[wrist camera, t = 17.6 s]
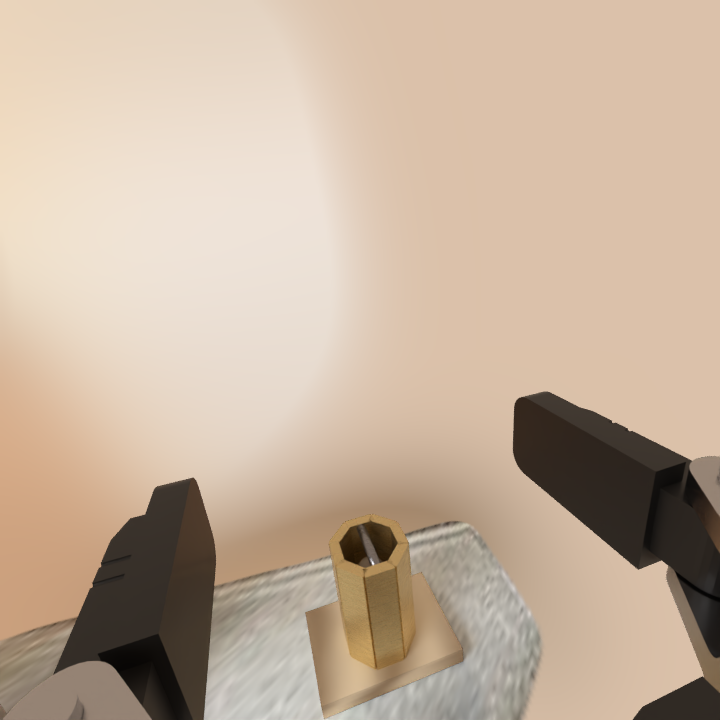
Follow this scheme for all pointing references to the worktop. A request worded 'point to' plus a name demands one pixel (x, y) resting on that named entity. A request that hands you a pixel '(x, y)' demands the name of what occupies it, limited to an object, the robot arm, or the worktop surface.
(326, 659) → the shaft base
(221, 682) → the worktop surface
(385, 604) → the sleeve
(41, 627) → the worktop surface
